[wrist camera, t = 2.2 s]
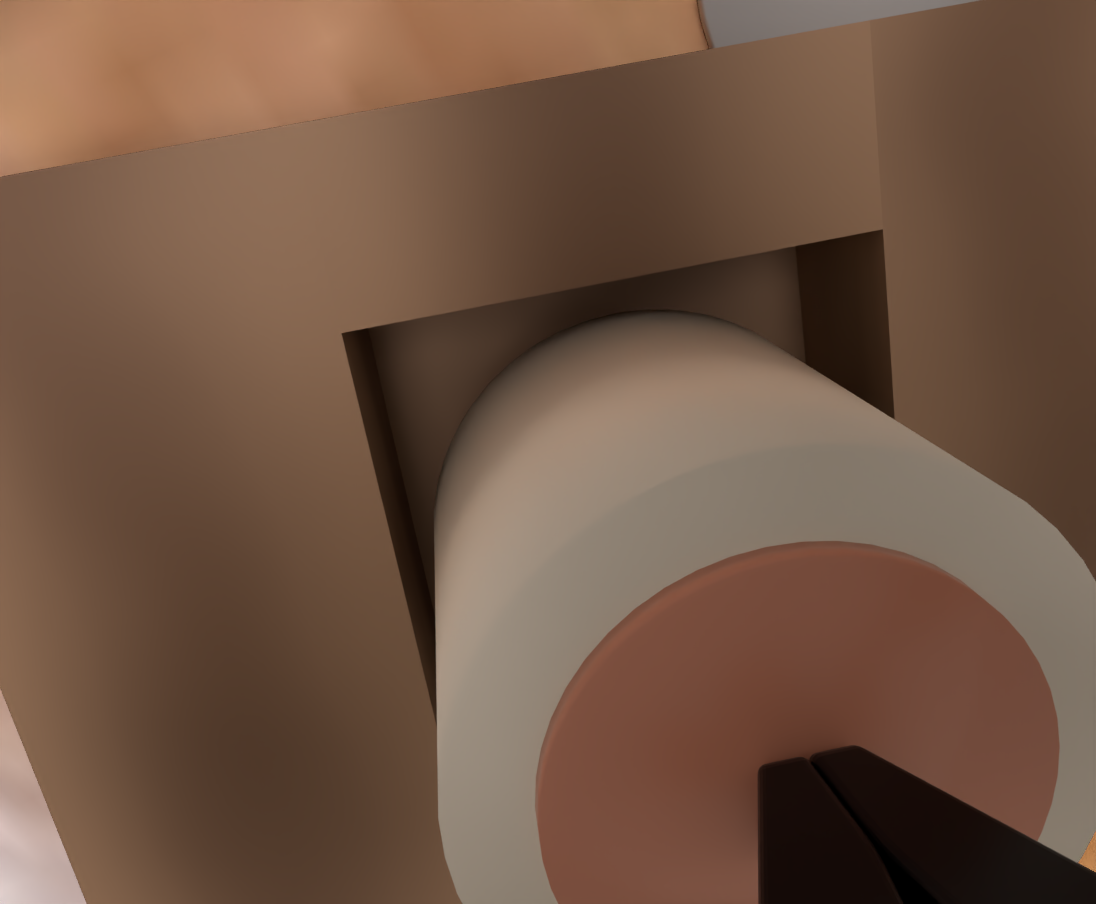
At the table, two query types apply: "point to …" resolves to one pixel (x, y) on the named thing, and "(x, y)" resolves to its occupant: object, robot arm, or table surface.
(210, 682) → the brown wooden block
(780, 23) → the mat
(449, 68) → the table surface
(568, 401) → the cream short cylinder
